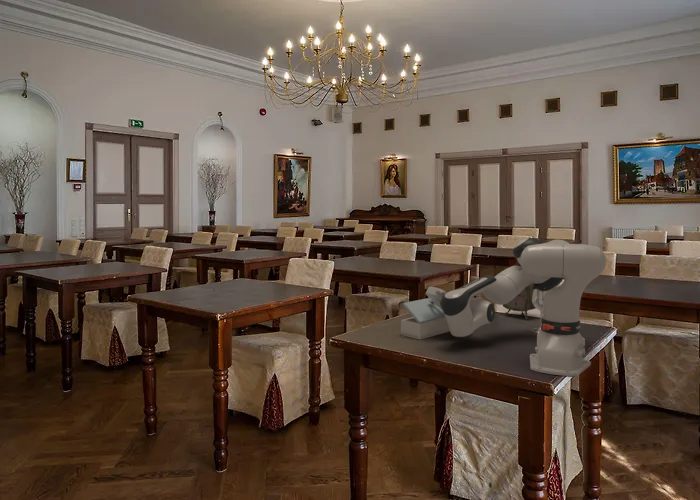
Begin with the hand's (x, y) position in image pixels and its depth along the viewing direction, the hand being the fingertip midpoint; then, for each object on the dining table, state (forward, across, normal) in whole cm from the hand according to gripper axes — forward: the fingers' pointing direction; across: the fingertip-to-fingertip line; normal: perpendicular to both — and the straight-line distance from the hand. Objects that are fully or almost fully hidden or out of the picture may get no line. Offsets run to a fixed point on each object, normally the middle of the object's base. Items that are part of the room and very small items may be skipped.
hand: (430, 300), depth 217 cm
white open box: (-1, +8, -11) cm, 13 cm away
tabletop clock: (-10, +49, +21) cm, 54 cm away
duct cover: (-1, +2, -3) cm, 4 cm away
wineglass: (-30, +34, +10) cm, 47 cm away
